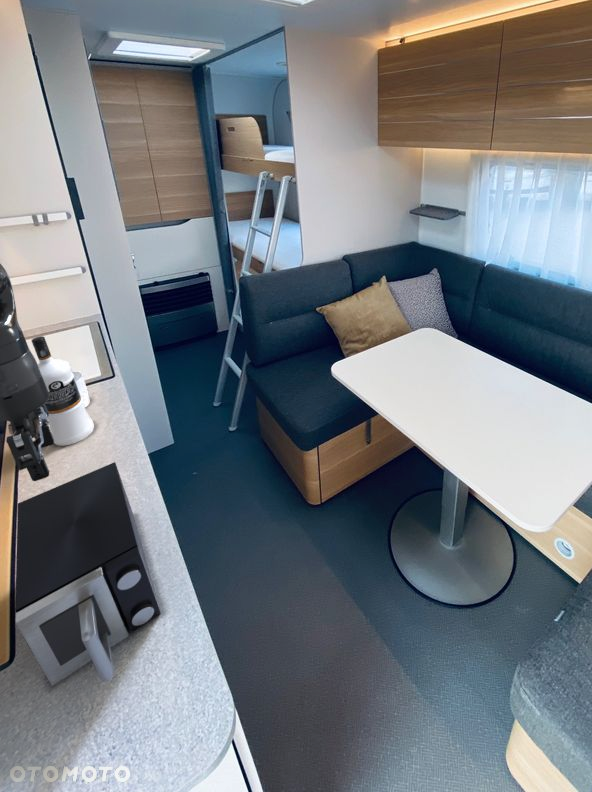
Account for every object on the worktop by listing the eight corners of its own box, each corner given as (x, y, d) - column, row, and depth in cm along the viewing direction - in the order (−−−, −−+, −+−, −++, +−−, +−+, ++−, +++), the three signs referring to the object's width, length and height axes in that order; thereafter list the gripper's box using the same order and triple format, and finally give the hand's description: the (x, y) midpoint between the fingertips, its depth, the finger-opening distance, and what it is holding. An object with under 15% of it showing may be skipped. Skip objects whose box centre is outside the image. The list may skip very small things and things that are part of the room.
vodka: (94, 419, 116) (61, 325, 105) (96, 438, 109) (60, 339, 98) (54, 432, 112) (14, 336, 100) (53, 453, 104) (10, 351, 93)
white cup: (82, 396, 126) (72, 369, 123) (98, 403, 123) (88, 375, 119) (54, 411, 120) (43, 383, 116) (70, 419, 117) (59, 390, 113)
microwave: (162, 619, 69) (140, 556, 63) (53, 691, 60) (14, 626, 54) (134, 519, 87) (115, 461, 80) (47, 563, 78) (17, 503, 72)
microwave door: (137, 675, 62) (109, 611, 56) (55, 733, 56) (14, 668, 50) (127, 629, 68) (101, 566, 61) (52, 677, 62) (15, 613, 56)
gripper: (-12, 367, 67) (23, 444, 73) (-34, 415, 56) (9, 501, 62) (45, 354, 71) (73, 428, 77) (34, 396, 60) (68, 479, 66)
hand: (44, 460), depth 70 cm, fingers open, 8 cm apart
